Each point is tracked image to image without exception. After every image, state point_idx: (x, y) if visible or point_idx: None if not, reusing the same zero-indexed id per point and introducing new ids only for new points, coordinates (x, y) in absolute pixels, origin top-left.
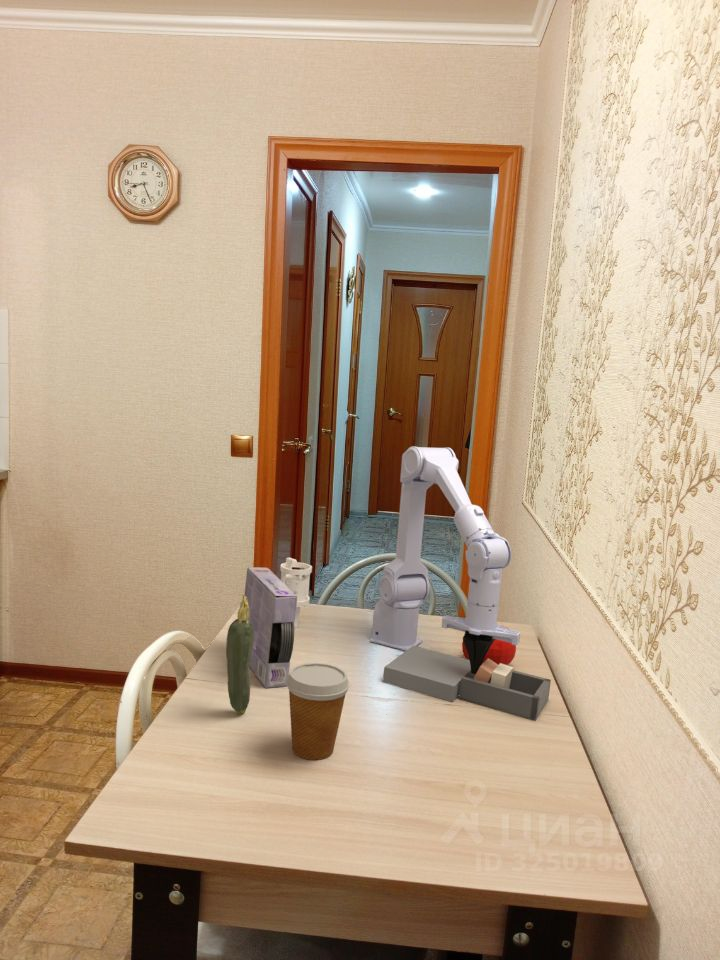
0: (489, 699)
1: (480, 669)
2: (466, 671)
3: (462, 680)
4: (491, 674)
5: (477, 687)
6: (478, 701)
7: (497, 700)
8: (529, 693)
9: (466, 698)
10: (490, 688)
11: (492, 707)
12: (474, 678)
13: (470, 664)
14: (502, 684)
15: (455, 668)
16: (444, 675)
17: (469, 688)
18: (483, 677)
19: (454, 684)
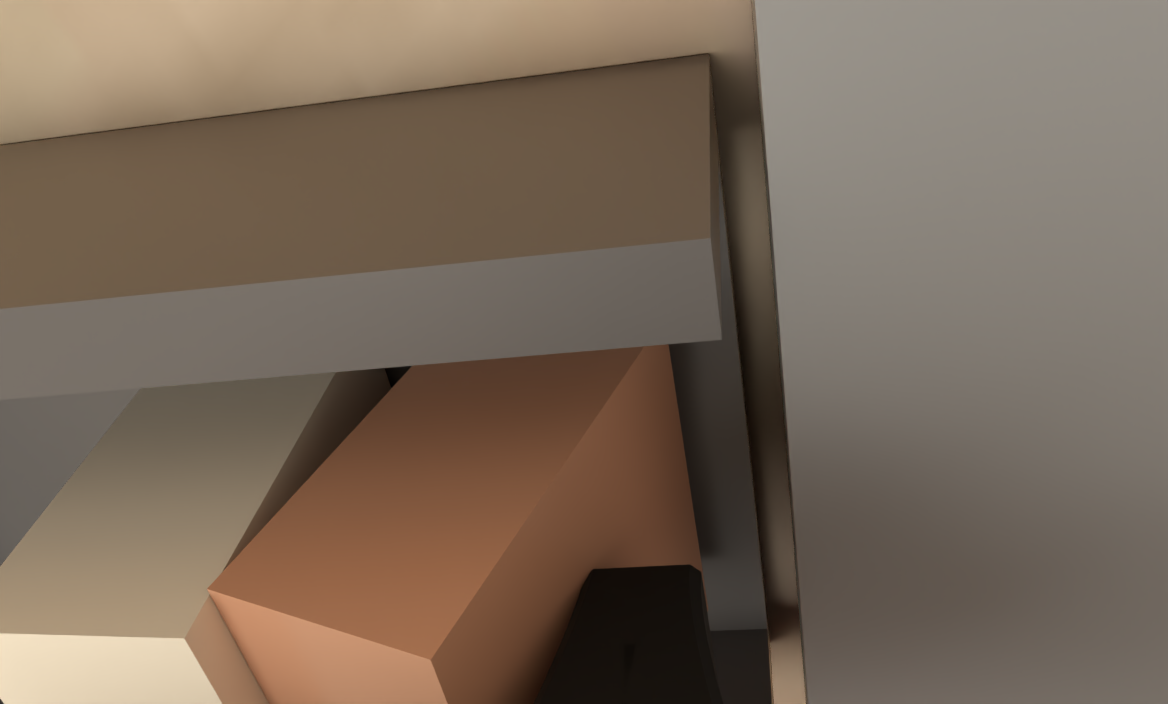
0: (191, 174)
1: (427, 608)
2: (839, 625)
3: (676, 215)
4: (215, 584)
5: (362, 221)
6: (379, 111)
7: (58, 197)
8: None
9: (584, 88)
10: (106, 273)
11: (176, 126)
12: (560, 449)
13: (707, 682)
14: (75, 502)
15: (1040, 622)
16: (1143, 283)
17: (523, 172)
18: (387, 504)
19: (791, 32)
